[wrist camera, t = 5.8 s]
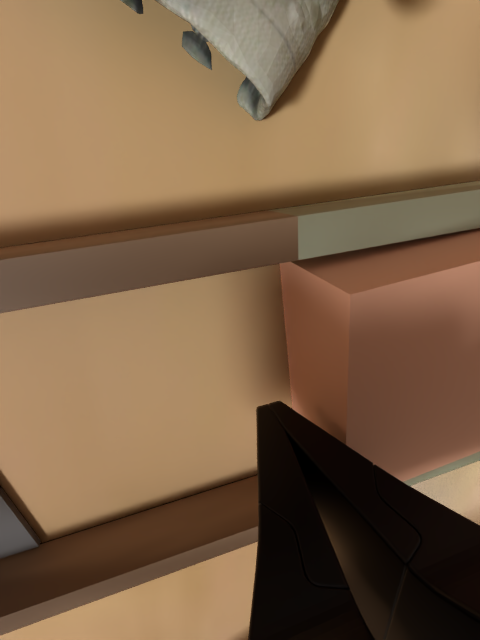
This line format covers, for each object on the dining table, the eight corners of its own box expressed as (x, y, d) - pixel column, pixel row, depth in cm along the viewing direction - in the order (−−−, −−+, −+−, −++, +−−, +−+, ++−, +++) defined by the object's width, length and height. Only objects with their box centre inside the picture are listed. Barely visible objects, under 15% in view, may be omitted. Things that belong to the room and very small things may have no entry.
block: (428, 369, 13) (524, 433, 10) (290, 414, 12) (344, 504, 9) (457, 213, 10) (613, 226, 7) (275, 253, 9) (350, 294, 6)
